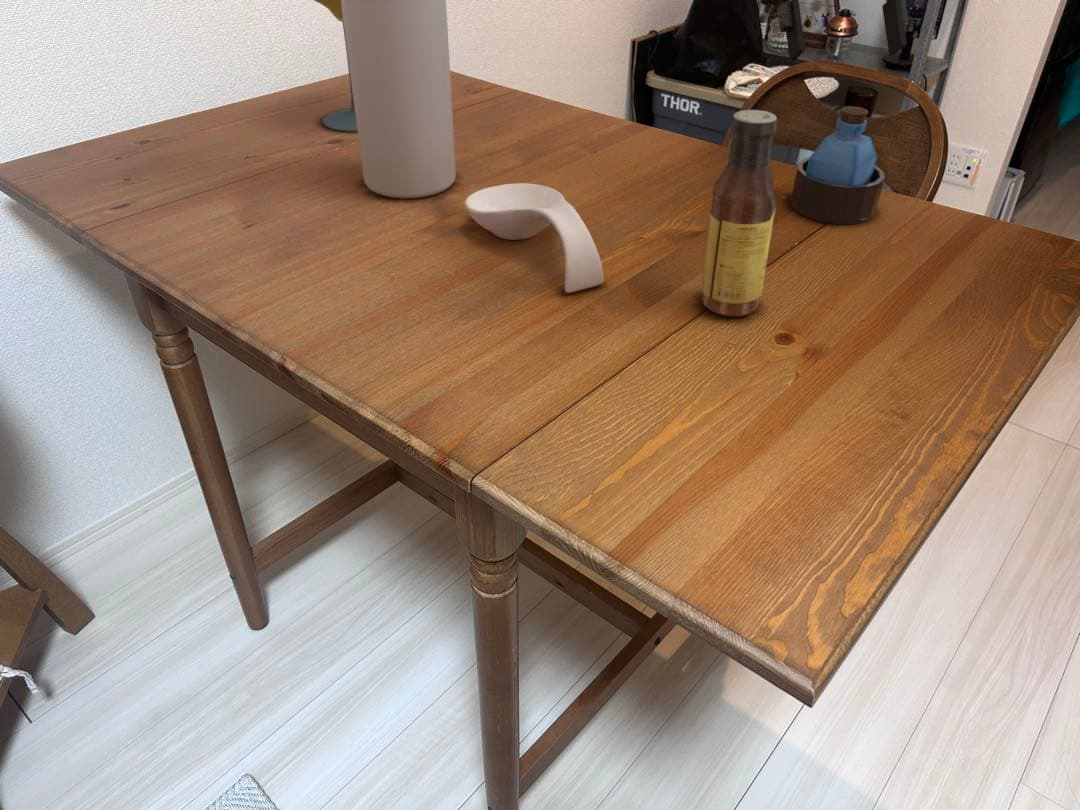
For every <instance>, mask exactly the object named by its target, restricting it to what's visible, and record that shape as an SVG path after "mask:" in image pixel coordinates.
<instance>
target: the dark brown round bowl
mask: <svg viewBox="0 0 1080 810" xmlns="http://www.w3.org/2000/svg"><path fill="white" fill-rule="evenodd" d="M809 157H810V156H808V157H804V158H802V159H801V160H800V161H798V163H797V166H796V172H795V174H794V176H795V177H794V181H793V185H792V190H791V194H790V202H789V203H790V206H791V208H792V210H794V211H795V212H796V213H798V214H799V215H801V216H803V217H805V218H806V219H810V220H813V221H815V222H820V223H824V224H831V225H842V226H843V225H856V224H862V223H865V222H868V221H869V220H871V219H872V218H873V217H874V215H875V213H876V211H877V207H878V204H879V200H880V197H881V193H882V190H883V186H884V182H885V180H886V179H885V178H886V177H885V172H884V170H882V169H881V168H880V167H879V166H877V164H875V166H874V170H873V174H872V178H871V181H870V183H869V184H865V185H841V184H833V183H829V182H825V181H821V180H818V179H816V178H814V177H812V176H810V175H808V174H807V173H806V171H807V166H808V162H809Z"/></svg>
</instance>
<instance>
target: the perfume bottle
mask: <svg viewBox="0 0 1080 810" xmlns="http://www.w3.org/2000/svg"><path fill="white" fill-rule="evenodd" d="M868 114H869V110H868V109H866V108H864V107H861V106H856V105H855V106H853V105H847V106H843V107H841V109H840V116H839V117H838V118H837V121H836V125H835V128H836V130H837V131H835V132H833V133H832V134H829V135H828V136H826V137H825V138H824V139H823V140H822V142H821V143H820V144H819V146H818V147H817V148H815V150H814V151H813V153H812V154H811V155H810V156H808V157H809V162H808V166H807V171H806V173H807V174H808V175H810V176H812V177H814V178H816V179H818V180H821V181H825V182H829V183H833V184H841V185H865V184H869V183H870V181H871V178H872V174H873V170H874V166H875V165H876V162H877V159H878V155H877V152H876V149H875V146H874V143H873V140H872V138H871V136H868V135H863V132H865V131H866V128H867V124H868V121H867V120H866V118H867V116H868Z"/></svg>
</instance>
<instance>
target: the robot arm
mask: <svg viewBox="0 0 1080 810" xmlns="http://www.w3.org/2000/svg"><path fill="white" fill-rule="evenodd" d="M799 1H800V0H760V3H761V5H763V6H767V5H771V10H772V12H774V13H777V19H778V29H779V31H780V32H781V33H785V36H786V44H787V49H788V57H789V61H791V62H792V61H796V60H797V59H799V58H800V56H801V55H802V54H803V53H804V52H805V51H806V46H805V37H804V30H803V23H802V16H801V15H802V14H801V8H800V2H799ZM885 1H886V2H885V3H883V4H882V6H881V7H882V12H883V13H882V15H883V21H884V22H883V23H884V26H885V27H884V29H885V36H886V44H887V50H888V56H895V55H897V53H899V52H900V51H901V50H902V49H904V48H905V47H906V46H907V45H908V43H907V37H906V30H905V29H906V28H905V24H906V22H907V21H908V19H909V15H908V9H907V0H885Z"/></svg>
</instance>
